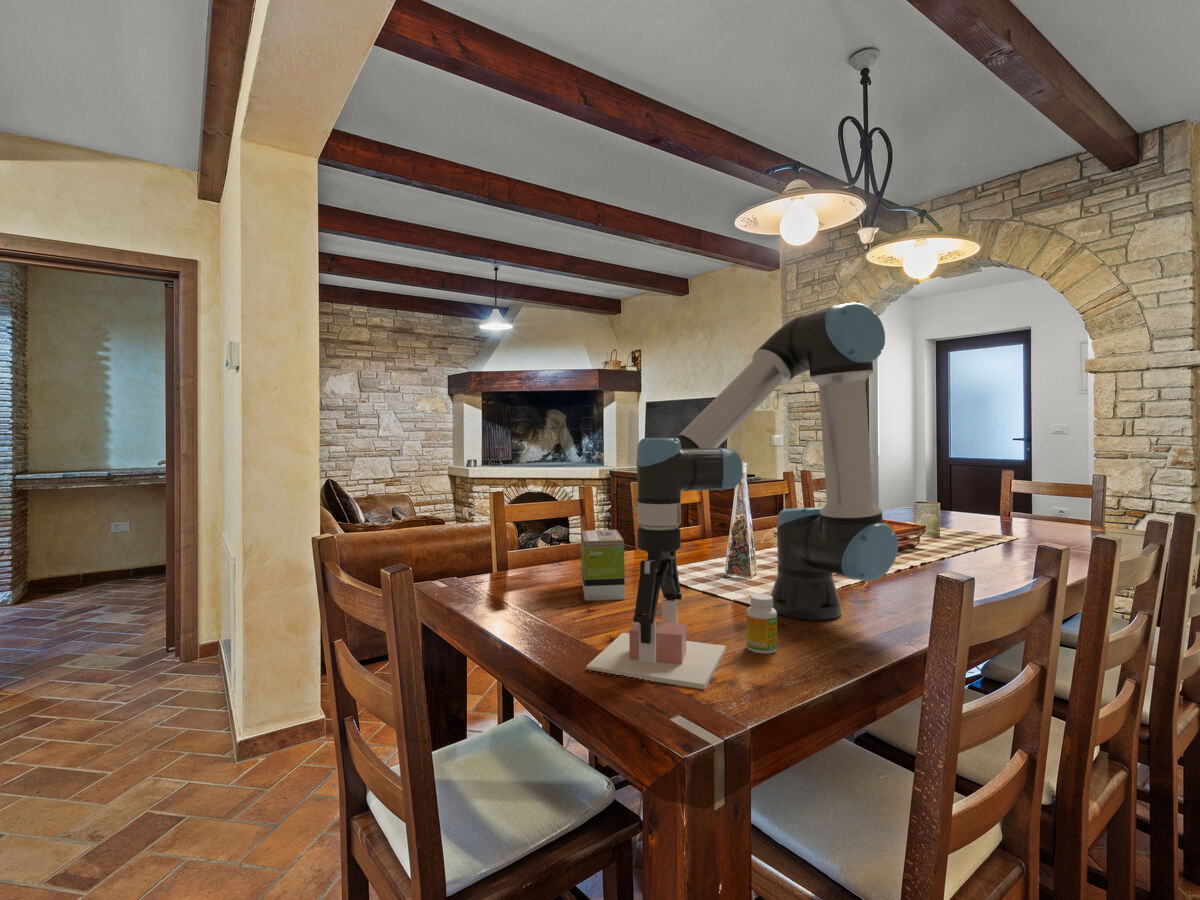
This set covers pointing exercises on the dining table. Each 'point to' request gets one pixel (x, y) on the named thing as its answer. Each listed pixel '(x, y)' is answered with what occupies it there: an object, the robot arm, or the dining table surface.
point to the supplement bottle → (761, 625)
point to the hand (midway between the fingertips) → (659, 647)
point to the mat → (661, 664)
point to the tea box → (602, 565)
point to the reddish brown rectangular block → (662, 642)
